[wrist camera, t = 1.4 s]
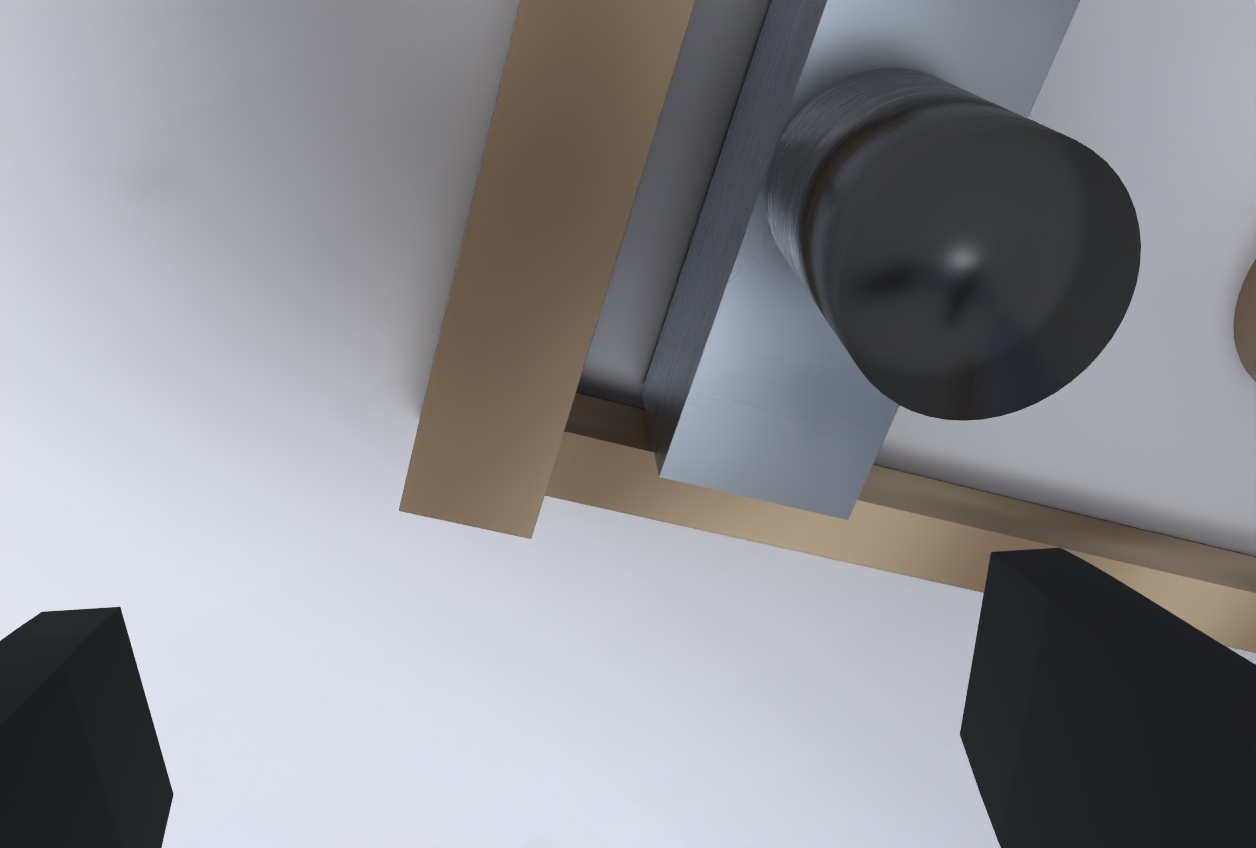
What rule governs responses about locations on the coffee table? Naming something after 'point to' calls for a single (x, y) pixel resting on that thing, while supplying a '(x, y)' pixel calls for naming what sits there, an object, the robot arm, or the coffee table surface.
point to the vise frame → (619, 434)
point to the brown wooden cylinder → (1247, 323)
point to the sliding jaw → (884, 247)
